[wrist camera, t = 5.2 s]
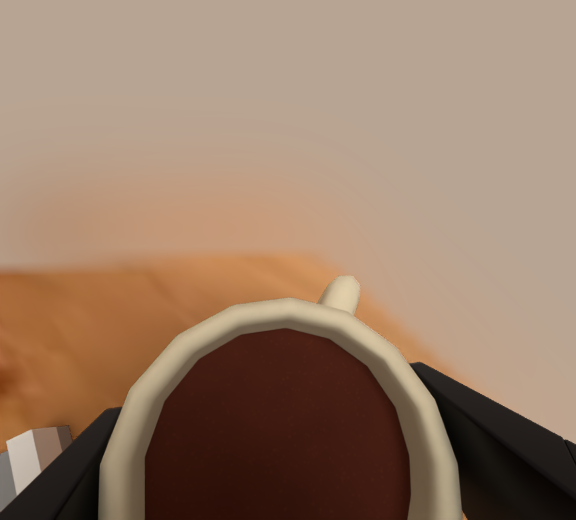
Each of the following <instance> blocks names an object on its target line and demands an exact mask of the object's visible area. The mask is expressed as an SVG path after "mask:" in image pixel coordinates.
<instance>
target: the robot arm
mask: <svg viewBox="0 0 576 520" xmlns="http://www.w3.org/2000/svg"><path fill="white" fill-rule="evenodd" d="M409 365H410V366H411V368H412V369H413V370H414V372H415V373H416V375H417V376H418V377H419V379H420V380H421V381H422V383H423V384H424V386H425V387H426V388H427V390H428V391H429V392H430V394H431V395H432V397H433V398H434V399H435V402H436V404H437V407H438V410H439V413H440V416H441V418H442V421H443V424H444V427H445V430H446V432H447V435H448V438H449V441H450V444H451V446H452V449H453V452H454V455H455V458H456V461H457V463H458V473H459V484H460V495H461V506H462V511H463V513H464V514H465V516H466V518H467V520H576V444H574V443H572V442H570V441H568V440H564V439H563V438H562V437H561V436H559V435H557V434H555V433H553V432H551V431H549V430H548V429H546V428H544V427H542V426H540V425H538V424H536V423H534V422H532V421H531V420H529V419H527V418H525V417H523V416H521V415H519V414H518V413H516V412H514V411H512V410H510V409H508V408H506V407H504V406H503V405H501V404H499V403H497V402H495V401H493V400H491V399H489V398H488V397H486V396H484V395H482V394H480V393H478V392H476V391H474V390H472V389H471V388H469V387H467V386H465V385H463V384H461V383H459V382H457V381H456V380H454V379H452V378H450V377H448V376H446V375H444V374H442V373H441V372H439V371H437V370H435V369H433V368H431V367H429V366H427V365H426V364H424V363H421V362H415V363H409ZM121 410H122V407H115V408H109V409H106V410H105V411H104V412H103V413H102V414H101V415H100V416H99V417H98V418H97V419H95V420H94V421H93V422H92V423H91V424H90V425H89V426H88V427H87V428H86V429H85V430H84V431H83V432H82V433H81V434H80V435H79V436H78V437H77V438H76V439H75V440H74V441H73V442H72V443H71V444H70V445H69V446H68V447H67V448H66V449H65V450H64V451H63V452H62V453H61V454H59V455H58V456H57V457H56V458H55V459H54V460H53V461H52V462H51V463H50V464H49V465H48V466H47V467H46V468H45V469H44V470H43V471H42V472H41V473H40V474H39V475H38V476H37V477H36V478H35V479H34V480H33V481H32V482H31V483H30V484H29V485H28V486H27V487H26V488H24V489H23V490H22V491H21V492H20V493H19V494H18V495H17V496H16V497H15V498H14V499H13V500H12V501H11V502H10V503H9V504H8V505H7V506H6V507H5V508H4V509H3V510H2V511H1V512H0V520H98V504H99V475H100V463H101V461H102V458H103V456H104V453H105V451H106V448H107V446H108V443H109V440H110V438H111V435H112V433H113V430H114V428H115V425H116V423H117V420H118V417H119V415H120V412H121Z"/></svg>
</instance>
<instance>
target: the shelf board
mask: <svg viewBox="0 0 576 520" xmlns="http://www.w3.org/2000/svg"><path fill="white" fill-rule="evenodd" d="M6 442H7V447H8V450H7V451H5V452H3V453H1V454H0V512H1V511H2V510H3V509H4V508H5V507H6V506H7V505H8V504H9V503H10V502H11V501H12V500H13V499H14V498H15V497H16V496H17V495H18V494H19V493H20V492H21V491H22V490H23V489H24V488H26V487H27V486H28V485H29V484H30V483H31V482H32V481H33V480H34V479H35V478H36V477H37V476H38V475H39V474H40V473H41V472H42V471H43V470H44V469H45V468H46V467H47V466H48V465H49V464H50V463H51V462H52V461H53V460H54V459H55V458H56V457H57V456H58V455H59V454H61V453H62V452H63V451H64V450H65V449H66V448H67V447H68V446H69V445H70V444H71V443H72V438H71V434H70V430H69V426H60V427H50V428H39V429H31V430H29V431H27V432H25V433H23V434H21V435H18V436H16V437H14V438H12V439H10V440H8V441H6Z"/></svg>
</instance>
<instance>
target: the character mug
mask: <svg viewBox="0 0 576 520" xmlns="http://www.w3.org/2000/svg"><path fill="white" fill-rule="evenodd" d="M359 299H360V284H359V283H358V282H357V281H356V280H355V278H354V277H353V276H338V277H337V278H336V279H335V280H333V281H332V282H331V283H330V284H329V285H328V286H327V288H326V289H325V291H324V293H323V294H322V296H321V298H320V299H319V301H318V303H313V302H309V301H305V300H301V299H297V298H293V297H289V298H282V299H274V300H267V301H259V302H252V303H244V304H237V305H232V306H230V307H228V308H227V309H225V310H223V311H221V312H219V313H217V314H215V315H214V316H212V317H210V318H208V319H206V320H204V321H203V322H201V323H199V324H197V325H195V326H193V327H191V328H190V329H188V330H186V331H184V332H182V333H180V334H178V335H177V336H176V337H175V338H174V339H173V340H172V342H171V343H170V344H169V345H168V346H167V347H166V348H165V350H164V351H163V352H162V353H161V354H160V355H159V356H158V357H157V359H156V360H155V361H154V362H153V363H152V364H151V365H150V367H149V368H148V369H147V370H146V371H145V372H144V373H143V374H142V376H141V377H140V378H139V379H138V380H137V381H136V382H135V384H134V385H133V386H132V387H131V388H130V389H129V392H128V395H127V397H126V400H125V402H124V405H123V407H122V410H121V412H120V415H119V417H118V420H117V423H116V425H115V428H114V430H113V433H112V435H111V438H110V440H109V443H108V446H107V448H106V451H105V453H104V456H103V458H102V461H101V463H100V475H99V504H98V520H462V506H461V495H460V484H459V473H458V463H457V461H456V458H455V455H454V452H453V449H452V446H451V444H450V441H449V438H448V435H447V432H446V430H445V427H444V424H443V421H442V418H441V416H440V413H439V410H438V407H437V404H436V402H435V399H434V398H433V397H432V395H431V394H430V392H429V391H428V390H427V388H426V387H425V386H424V384H423V383H422V381H421V380H420V379H419V377H418V376H417V375H416V373H415V372H414V370H413V369H412V368H411V366H410V365H409V364H408V362H407V361H406V359H405V358H404V357H403V355H402V354H401V353H400V351H399V350H398V348H397V347H396V346H394V345H393V344H392V343H390V342H389V341H388V340H386V339H385V338H383V337H382V336H381V335H379V334H378V333H377V332H375V331H374V330H372V329H371V328H370V327H368V326H367V325H366V324H364V323H363V322H362V321H360V320H359V319H357V318H356V317H355V316H354V313H355V311H356V308H357V305H358V302H359Z"/></svg>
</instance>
